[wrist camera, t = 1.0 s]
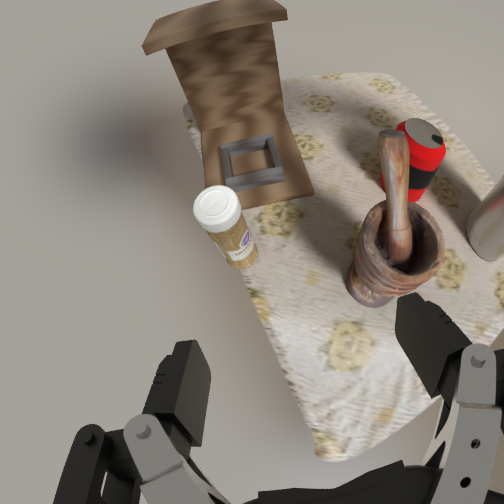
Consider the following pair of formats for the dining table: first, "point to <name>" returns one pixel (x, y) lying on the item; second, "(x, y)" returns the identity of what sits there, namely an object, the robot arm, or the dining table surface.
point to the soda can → (421, 155)
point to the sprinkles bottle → (226, 225)
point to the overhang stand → (235, 96)
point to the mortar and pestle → (394, 234)
